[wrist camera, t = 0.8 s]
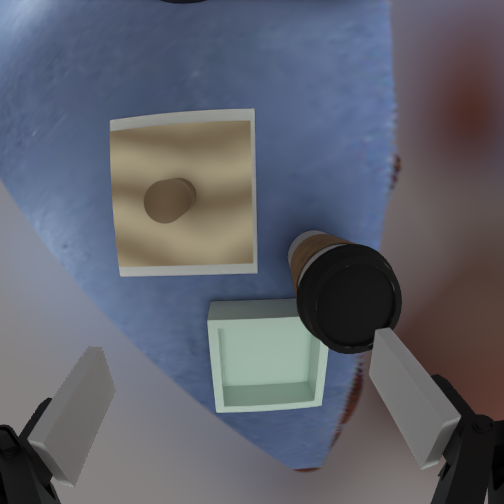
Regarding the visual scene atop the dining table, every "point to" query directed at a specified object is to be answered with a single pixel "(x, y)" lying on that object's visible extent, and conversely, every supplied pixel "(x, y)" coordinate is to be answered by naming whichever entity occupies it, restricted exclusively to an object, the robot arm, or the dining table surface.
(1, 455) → the robot arm
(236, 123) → the lid
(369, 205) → the dining table surface
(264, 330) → the dish
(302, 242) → the coffee cup
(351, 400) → the dining table surface
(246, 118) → the mat
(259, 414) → the dining table surface
